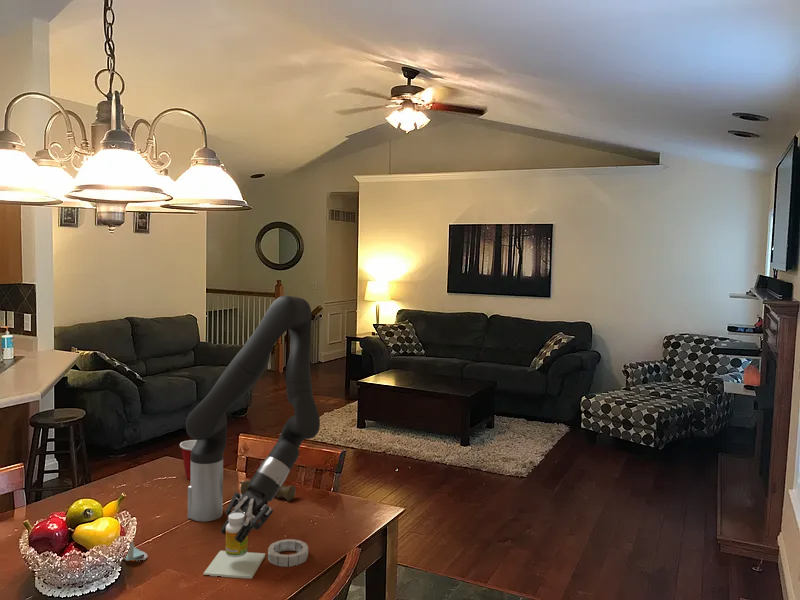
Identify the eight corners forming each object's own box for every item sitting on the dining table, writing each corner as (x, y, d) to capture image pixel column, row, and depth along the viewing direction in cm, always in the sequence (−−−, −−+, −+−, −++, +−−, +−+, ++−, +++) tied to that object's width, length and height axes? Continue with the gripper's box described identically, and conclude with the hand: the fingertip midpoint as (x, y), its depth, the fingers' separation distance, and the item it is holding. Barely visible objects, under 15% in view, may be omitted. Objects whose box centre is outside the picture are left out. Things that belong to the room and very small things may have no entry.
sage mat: (203, 575, 159) (203, 573, 159) (220, 552, 171) (220, 550, 171) (251, 578, 159) (251, 576, 159) (265, 555, 171) (265, 553, 171)
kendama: (284, 508, 203) (230, 495, 210) (299, 497, 212) (246, 486, 219) (285, 489, 203) (231, 477, 210) (300, 479, 212) (247, 469, 219)
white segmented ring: (263, 565, 166) (263, 555, 165) (274, 547, 175) (274, 538, 175) (302, 567, 165) (302, 558, 165) (310, 549, 175) (311, 540, 175)
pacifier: (138, 550, 172) (115, 557, 167) (138, 527, 171) (116, 534, 167) (152, 560, 167) (130, 567, 162) (153, 536, 167) (130, 543, 162)
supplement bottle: (241, 559, 162) (241, 521, 161) (221, 556, 163) (221, 518, 162) (251, 549, 167) (251, 512, 166) (231, 547, 168) (231, 510, 167)
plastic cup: (210, 482, 221) (211, 447, 220) (177, 483, 219) (177, 448, 218) (213, 471, 231) (213, 438, 230) (181, 472, 229) (181, 439, 228)
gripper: (243, 464, 174) (204, 522, 165) (278, 477, 164) (239, 539, 156) (260, 478, 178) (222, 535, 170) (294, 492, 169) (257, 553, 161)
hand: (230, 537), depth 163 cm, fingers closed on supplement bottle, 5 cm apart
